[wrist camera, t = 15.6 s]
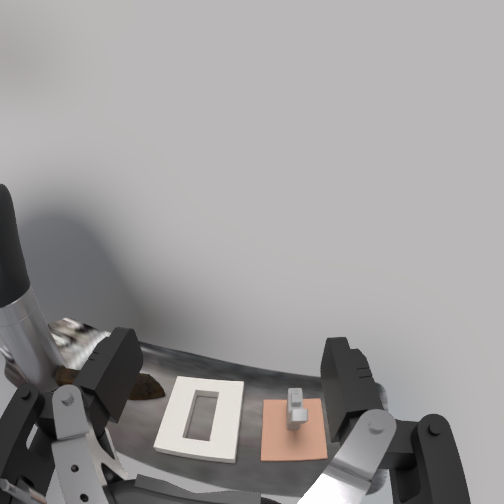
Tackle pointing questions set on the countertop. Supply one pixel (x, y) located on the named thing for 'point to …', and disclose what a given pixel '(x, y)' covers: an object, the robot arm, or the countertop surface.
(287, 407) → the lighter
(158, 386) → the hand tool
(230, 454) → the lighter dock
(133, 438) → the countertop surface
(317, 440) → the mat
